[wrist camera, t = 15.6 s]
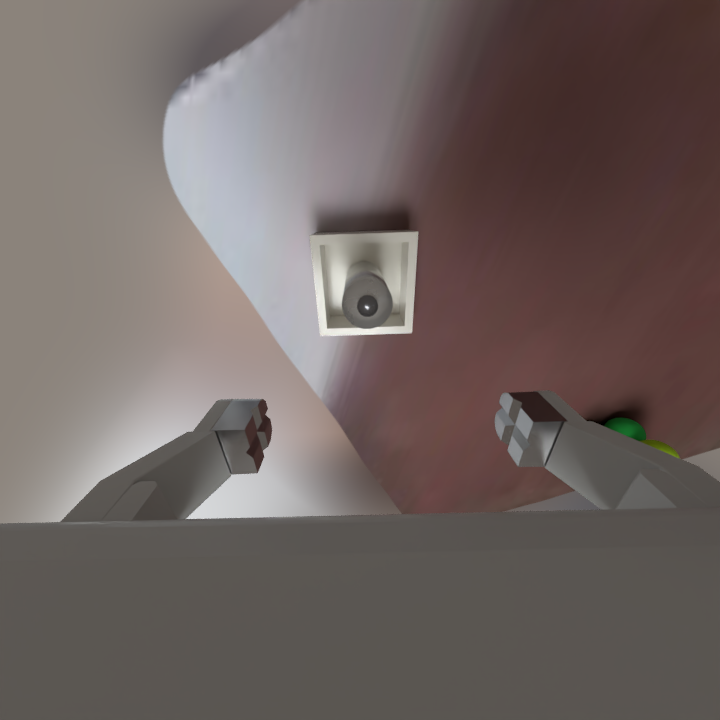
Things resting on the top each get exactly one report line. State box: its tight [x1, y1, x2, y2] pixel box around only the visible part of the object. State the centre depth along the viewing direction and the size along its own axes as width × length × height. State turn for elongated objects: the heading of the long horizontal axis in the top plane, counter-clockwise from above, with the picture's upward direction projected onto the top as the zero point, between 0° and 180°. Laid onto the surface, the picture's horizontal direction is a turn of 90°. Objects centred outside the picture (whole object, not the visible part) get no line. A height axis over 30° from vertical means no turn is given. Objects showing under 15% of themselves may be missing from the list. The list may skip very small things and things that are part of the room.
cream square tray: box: [310, 230, 418, 336], centre depth 28 cm, size 10×10×4 cm
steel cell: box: [342, 261, 393, 329], centre depth 25 cm, size 4×4×10 cm
